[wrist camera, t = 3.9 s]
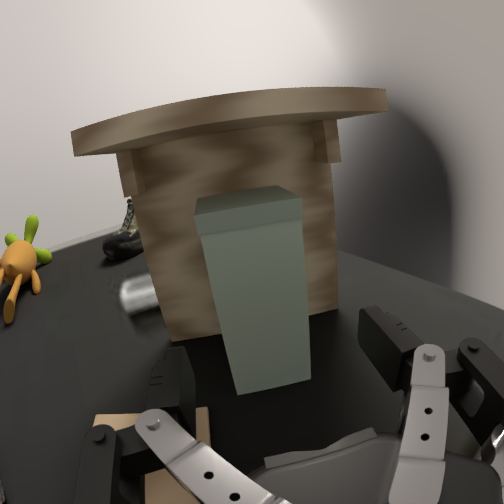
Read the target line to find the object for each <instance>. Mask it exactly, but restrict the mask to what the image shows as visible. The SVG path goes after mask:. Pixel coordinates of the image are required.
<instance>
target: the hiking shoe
mask: <svg viewBox="0 0 504 504" xmlns="http://www.w3.org/2000/svg"><path fill="white" fill-rule="evenodd" d="M127 203H128V209H127V214H126V217H125V219H124V223H123V225H122V228H121V229H120V230H118V231H117V232H116V233H115V234H114V235H111V236H109V237H107V238H106V239H105V240H104V242H103V247H102V248H103V251H104V254H105V255H107V256H108V258H109V259H111V260H115V261H116V260H121V259H125V258H130V257H133V256H135V255H137V254H139V253H140V252H142V251H144V249H143V245H142V241H141V237H140V233H139V229H138V225H137V221H136V216H135V212H134V207H133V203H132V199H128V200H127Z"/></svg>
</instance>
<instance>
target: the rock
mask: <svg viewBox="0 0 504 504" xmlns="http://www.w3.org/2000/svg"><path fill="white" fill-rule="evenodd" d="M4 501H5V496H4V489H3V487H2V483H1V482H0V504H2V503H3V502H4Z"/></svg>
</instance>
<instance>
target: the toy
mask: <svg viewBox="0 0 504 504" xmlns="http://www.w3.org/2000/svg"><path fill="white" fill-rule="evenodd" d="M38 224H39V222H38V218H37V217H36V216H35V215H30V216H29V217H28V218H27V220H26V224H25V233H24V240H19V239H18V238H17V237H16V235H14V234H13V233H8V234H7V235H6V237H5V243H6V244H7V246H8V247H7V249H6V250H5V252H4V254H3V257H2V259H0V267H1V270H0V286H1V284H2V281H3V279H4V280H5V281H6V282H7V283H8V284H10V285H13V286H12V289H11V291H10V293H9V295H8V298H7V300H6V302H5V305H4V320H5V322H6V323H7V324H9V323H11V322H12V321H13V318H14V313H15V302H16V298H17V294H18V291H19V288H20V285H23V284H24V283H26V282H27V281H28V280H29V279H30V278H32V288H33V292H34V293H35V294H39V293H40V289H41V287H40V280H39V277H38V275H37V273H36V271H35V268H36V263H37V261H38V262H40V263H42V264H47V263H49V262H51V260H52V255H51V253H50V252H49V251H48V250H45V249H38V248H33V246H32V245H31V244H32V241H33V239H34V236H35V234H36V231H37V228H38Z"/></svg>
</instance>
